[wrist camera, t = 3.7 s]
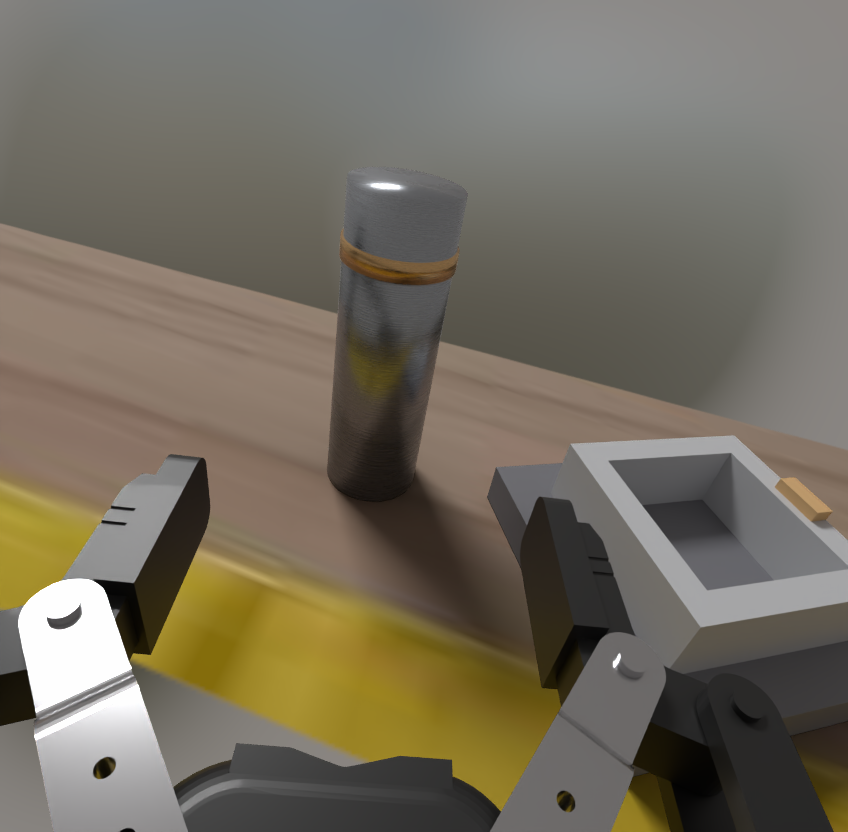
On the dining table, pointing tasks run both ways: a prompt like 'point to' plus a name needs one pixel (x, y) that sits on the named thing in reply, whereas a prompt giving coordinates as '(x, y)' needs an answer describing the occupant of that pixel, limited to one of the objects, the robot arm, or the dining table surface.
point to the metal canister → (389, 323)
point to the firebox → (710, 562)
